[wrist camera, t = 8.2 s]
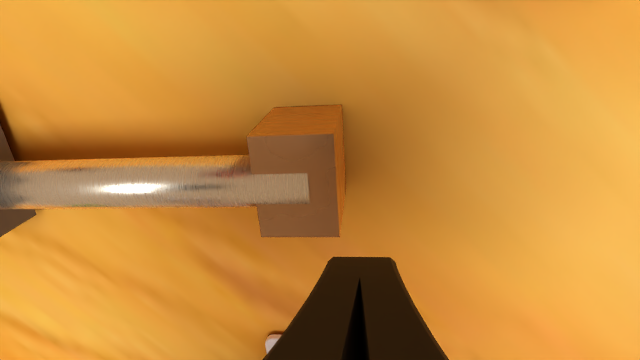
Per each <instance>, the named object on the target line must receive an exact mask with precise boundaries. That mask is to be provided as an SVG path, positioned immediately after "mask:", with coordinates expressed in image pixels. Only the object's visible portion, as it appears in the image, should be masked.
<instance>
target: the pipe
mask: <svg viewBox="0 0 640 360" xmlns="http://www.w3.org/2000/svg"><path fill="white" fill-rule="evenodd" d="M247 144H248V150H249V155H223V156H186V157H149V158H112V159H75V160H38V161H1V162H0V209H91V208H206V207H257V211H258V218H259V224H260V231H261V237H340V230H341V223H342V215H343V207H344V199H345V192H346V180H345V159H344V138H343V117H342V105H322V106H299V107H276V108H273V109H272V110H271V111H270V112H269V114H268V115H267V116H266V117H265V118H264V119H263V120H262V121H261V122H260V123H259V124H258V125H257V126H256V127H255V128H254V129H253V130H252V131H251V132H250V133H249V135H248V136H247Z"/></svg>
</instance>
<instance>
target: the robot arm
mask: <svg viewBox="0 0 640 360" xmlns="http://www.w3.org/2000/svg"><path fill="white" fill-rule="evenodd" d="M265 347H266V353H267V355H266V356H265V357H264V359H263V360H449V359H448V358H447V356H446V355H445V353H444V352H443V350H442V349H441V347H440V346H439V344H438V343H437V341H436V340H435V338H434V337H433V335H432V333H431V332H430V330H429V328H428V327H427V325H426V323H425V322H424V320H423V318H422V317H421V315H420V313H419V312H418V310H417V308H416V306H415V305H414V303H413V301H412V299H411V297H410V295H409V293H408V291H407V289H406V287H405V285H404V283H403V281H402V279H401V277H400V274H399V272H398V269H397V266H396V263H395V261H393V260H392V259H391V258H390V257H333V258H332V259H330V260H329V261H328V263H327V265H326V267H325V269H324V271H323V273H322V275H321V277H320V278H319V280H318V282H317V284H316V285H315V287H314V289H313V290H312V292H311V293H310V295H309V297H308V298H307V300H306V301H305V303H304V304H303V306H302V307H301V309H300V310H299V312H298V313H297V315H296V316H295V317H294V319H293V320H292V322H291V323H290V325H289V326H288V328H287V329H286V330H285V332H284V333H283V334H282V335H278V334H273V335H269V336H268V337H267V339H266V342H265Z"/></svg>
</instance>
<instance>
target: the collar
mask: <svg viewBox="0 0 640 360" xmlns="http://www.w3.org/2000/svg"><path fill="white" fill-rule="evenodd" d="M1 161H15V160H14V158H13V155H12V153H11V150H10V148H9V145H8V143H7V140H6V138H5V135H4V133H3V130H2V128H1V125H0V162H1ZM35 215H36V212H35V210H34V209H0V237H1V236H2V235H4V234H6V233H7V232H9V231H11V230H12V229H14V228H15V227H17V226H19V225H20V224H22V223H23V222H25V221H27V220H28V219H30V218H31V217H33V216H35Z"/></svg>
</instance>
